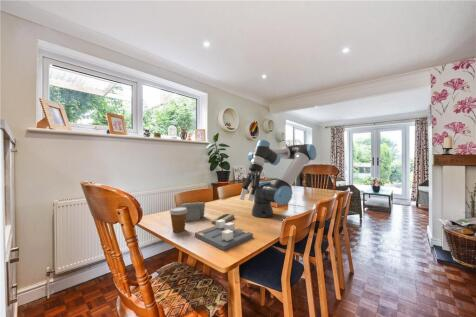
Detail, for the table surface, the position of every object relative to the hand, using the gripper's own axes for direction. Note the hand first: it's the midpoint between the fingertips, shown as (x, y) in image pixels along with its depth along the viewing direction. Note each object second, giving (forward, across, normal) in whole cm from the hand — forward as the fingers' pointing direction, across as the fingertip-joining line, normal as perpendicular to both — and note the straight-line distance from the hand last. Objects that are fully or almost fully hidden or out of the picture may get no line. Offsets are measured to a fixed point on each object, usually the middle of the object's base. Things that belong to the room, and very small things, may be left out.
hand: (245, 200), depth 113 cm
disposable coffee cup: (+27, -14, -27) cm, 41 cm away
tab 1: (+18, -5, -7) cm, 20 cm away
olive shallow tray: (+16, -22, -2) cm, 27 cm away
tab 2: (+18, +1, -4) cm, 18 cm away
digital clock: (+21, -32, -20) cm, 43 cm away
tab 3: (+21, +11, -7) cm, 24 cm away
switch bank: (+22, +3, -6) cm, 23 cm away
